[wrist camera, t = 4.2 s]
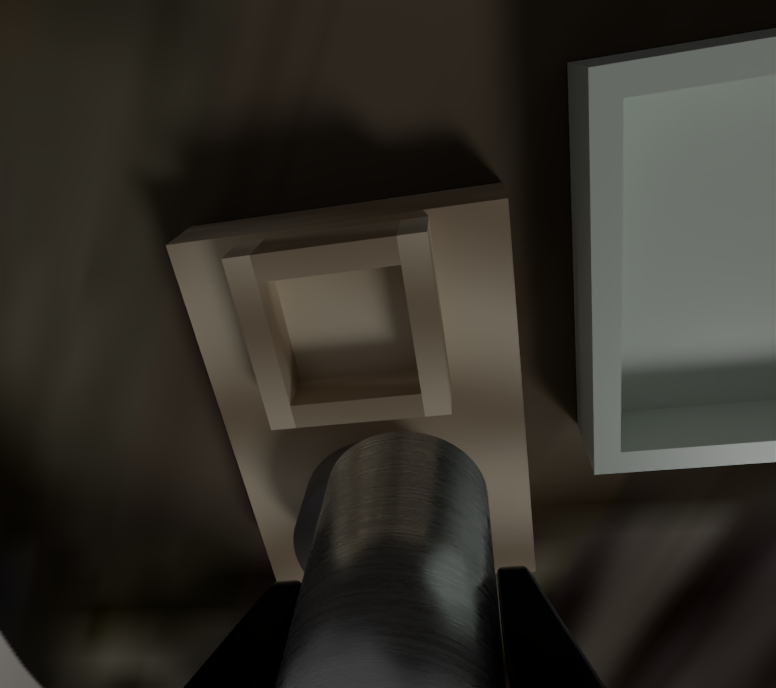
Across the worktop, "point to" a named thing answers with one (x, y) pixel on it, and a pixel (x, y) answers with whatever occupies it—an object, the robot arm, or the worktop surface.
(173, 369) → the worktop surface
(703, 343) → the tray
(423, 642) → the lock pin
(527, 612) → the robot arm
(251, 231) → the block
